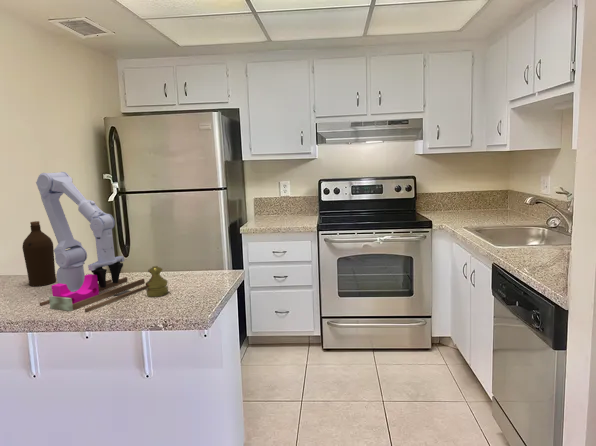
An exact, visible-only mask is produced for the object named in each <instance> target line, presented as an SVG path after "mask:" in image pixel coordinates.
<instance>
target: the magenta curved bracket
mask: <svg viewBox="0 0 596 446" xmlns="http://www.w3.org/2000/svg"><path fill="white" fill-rule="evenodd" d="M84 275H85V278H84V282H83V284H82V286H81V288H80V289H79V290H77V291H76V292H71V291H70V290H69V289H68V287H67V284H59V283H58V282H57V283H54V284H53V285H52V284H51V293H52V296H57V297H65V298H72V304H74V303H77V302H79V301H82V300H85V299H88V298H90V297H93V296H96V295H99V294H100V292H99V288H98V279H97V275H95V274H93V273H92V274H91V273H87V274H84Z"/></svg>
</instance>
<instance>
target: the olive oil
mask: <svg viewBox="0 0 596 446" xmlns="http://www.w3.org/2000/svg"><path fill="white" fill-rule="evenodd" d="M40 223H41V222H40V221H39V220H38V221H36V220H35V221H30V233H29V234H28V235H27V236H26V237H25V239H24V240H23V242H22V253H23V258H24V261H25V269H26V272H27V273H26V274H27V278H28V284H29V286H30V287H43V286H44V287H45V286H49V285H52V284H56V281H57V273H56V266H55V263H56V262H55V252H54V249H55V248H54V242H53V240H52V238H51V237H50V236H49V235H47V234H45V233H44V232H43V231H42V229H41V224H40Z"/></svg>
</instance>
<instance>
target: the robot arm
mask: <svg viewBox="0 0 596 446" xmlns="http://www.w3.org/2000/svg"><path fill="white" fill-rule="evenodd" d="M35 183H36V186H37V189H38V191H39V195H40V198H41V203H42V204H43V208H44V210H45V213H46V216H47V218H48V221H49V224H50V226H51V228H52V231H53V234H54V236H55V238H56V239H55V240H56V241H57V245H56V246H55V248H54V261H55V263H56V265H57V266H58V269H57V271H56V281H57V284H58V283H59V284H67V287H68V289H69V290H70V291H71V292H74V291H77V290H79V289H80V288H81V286H82V284H83V282H84V278H85V275H86V274H85V268H84V265H85V262H86V261H87V258H88V254H87V250H86V248H84V247H83V245H82V242H80V241H79V240H77V239H75V238H74V235H73V233H72V230H71V228H70V225H69V222H68V220H67V217H66V214H65V211H64V209H63V206H62V204H61V202H60V198H61V196H63V194H64V195H66V196H67V197H68V198H70V200H71V201H72V202H74V203H75V204H76V205H77V206H78V207H77V208H78V212H79V213H80V215H82V216H83V217H84V218H85V219H86V220H87V221H88V222H89V223H90V224H89V227H90V230H91V231H92V233H93V234H92V235H93V237H94V238H95V246H96V255H97V261H95V262H92V263H90V264H88V265H87V268H88V271H91V273H92V274H95V275H97V279H98V283H99V285H100V287H101V288H105V287H106V281H107V280H106V279H107V278H106V277H107V271H108V270H107V268H105V267H107V266H108V269H109V271H110V276H111V280H112V282H113V283H118V281H119V279H120V274H121V272H122V268H123V267H124V263H123V262H125V257H124V256H123V255H118V256H116V255H115V247H114V238H113V237H114V236H113V229H114V228H115V226H116V225H115V223H116V222H115V219H114V218H115V217H113V215H112V214H111V213H106V212H104V211H103V210H102V209H101V208H99V206H98V205H97V204H96V202H95V201H94V200H91V199H87V198H86V197H85V196H84V195H83V193H82V192H81V191H80V190H79V189H78V187H76V185H75V184H74V183H73V177H71V176H70V175H69V174H68V172H66V171H59V172H58V171H57V172H41V173H40V174H38V177H37V179H36V181H35Z"/></svg>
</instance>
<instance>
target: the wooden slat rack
mask: <svg viewBox="0 0 596 446" xmlns="http://www.w3.org/2000/svg"><path fill="white" fill-rule="evenodd" d="M125 283H127V284H125ZM122 284H125V285H122ZM144 284H146V282H145V278H140V279H138V280H136V281H132V282H130V283H128V277H127V276H124V277H122V278H119V281H118V283H113V282H112V278H111V279H107V280H106V287H105V288H101V287H100V285H99V283H98V288H99V295H96V296H93V297H90V298H88V299H85V300H82V301H79V302H77V303H74V304H72V298H65V297H57V296H53V295H50V296H48V300H44V301H41V302H39V307H43V306H46V305H49V308H50V309H52V310H53V309H54V310H60V311H61V310H62V311H67V312H73V311H75V310H78V309H80V308H83V307H85V306H89V305H91V304H93V303H96V304H93V305H91V306H89V307H86V308H84V312H85V313H88V312H91V311H93V310H97V309H98V308H101V307H103V306H106V305H108V304H111V303H114V302H116V301H118V300H122V299H125V298H126V297H129V296H132V295H134V294H136V293H139V292H142V291H144V290H146V289H147V287H146V285H144ZM119 285H121V286H119ZM141 285H143V286H141ZM117 286H118V287H117ZM138 286H140V287H138ZM114 287H116V288H114ZM136 287H138V288H136ZM111 288H113V289H111ZM133 288H135V289H133ZM109 289H110V290H109ZM130 289H133V290H130ZM106 290H107V291H106ZM102 291H105V292H102ZM74 292H76V291H74ZM100 292H102V293H100ZM112 296H114V297H112ZM109 297H112V298H110V299H107V300H104V299H106V298H109ZM102 300H104V301H102ZM98 301H99V302H100V301H102V302H100V303H97V302H98Z"/></svg>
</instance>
